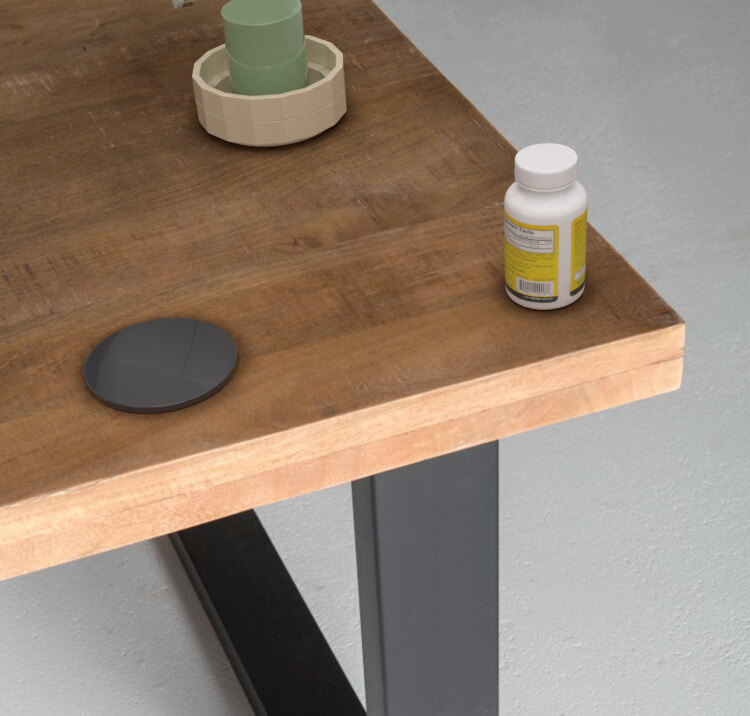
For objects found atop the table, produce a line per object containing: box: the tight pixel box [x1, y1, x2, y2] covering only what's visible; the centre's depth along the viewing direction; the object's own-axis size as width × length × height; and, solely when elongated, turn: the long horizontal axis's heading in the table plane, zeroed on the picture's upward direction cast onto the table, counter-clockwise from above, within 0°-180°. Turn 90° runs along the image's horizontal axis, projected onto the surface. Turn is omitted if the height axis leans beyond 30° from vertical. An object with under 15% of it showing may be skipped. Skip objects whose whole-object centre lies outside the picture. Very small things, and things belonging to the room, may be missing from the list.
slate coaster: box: [83, 317, 239, 414], centre depth 92 cm, size 10×10×1 cm
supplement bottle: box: [503, 142, 589, 311], centre depth 92 cm, size 5×5×10 cm
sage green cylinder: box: [220, 0, 309, 96], centre depth 114 cm, size 6×6×8 cm
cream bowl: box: [191, 34, 348, 148], centre depth 116 cm, size 12×12×4 cm
